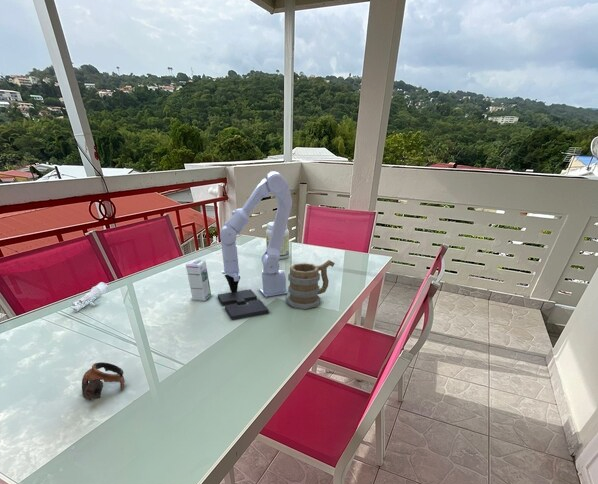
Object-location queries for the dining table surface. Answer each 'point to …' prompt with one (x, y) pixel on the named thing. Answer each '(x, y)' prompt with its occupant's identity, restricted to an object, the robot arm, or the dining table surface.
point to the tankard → (307, 284)
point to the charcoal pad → (246, 309)
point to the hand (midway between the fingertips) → (234, 292)
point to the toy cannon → (91, 296)
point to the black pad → (237, 297)
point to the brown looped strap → (95, 376)
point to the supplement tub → (285, 243)
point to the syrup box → (198, 280)
